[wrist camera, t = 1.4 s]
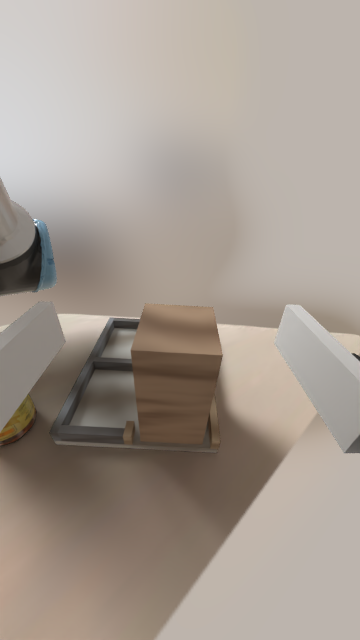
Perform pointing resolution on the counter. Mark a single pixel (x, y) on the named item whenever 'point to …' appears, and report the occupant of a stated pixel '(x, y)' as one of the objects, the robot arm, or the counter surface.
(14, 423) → the sauce bottle
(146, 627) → the counter surface
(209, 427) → the grey flat tray
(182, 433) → the walnut block
